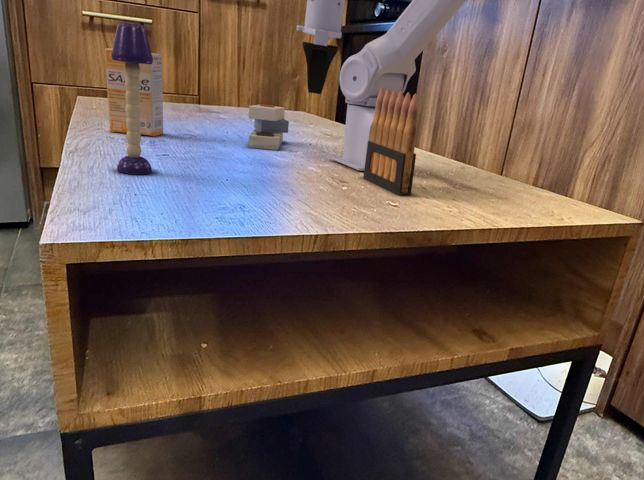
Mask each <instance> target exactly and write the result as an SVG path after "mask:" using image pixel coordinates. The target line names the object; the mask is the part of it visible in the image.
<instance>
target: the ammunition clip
mask: <svg viewBox="0 0 644 480" xmlns="http://www.w3.org/2000/svg"><path fill="white" fill-rule="evenodd" d="M418 114H419V97H418V94H417V93H414V94H413V96H412V98H411V94H410V92H409V91H407V93H406V94H405V96H404V93H403V92H402V91H400V93H399V95H398V97H397V93H396V90H394V91H393V92H392V95H391V94H390V89H389V88H388V89H387V91H386V93H385V94H384V89H383V87H382V88H381V89H380V92H379V94H378V98H377V102H376V108H375V114H374V118H373V121H372V129H371V137H370V141H368V145H367V152H366V160H365V168H364V171H363V176H362V177H363V179H365V180H366V181H368V182H370V183H372V184H375V185H376V186H379V187H380V188H382V189H385V190H387V191H388V192H391V193H393V194H395V195H398V196H411V195H412V191H413V190H412V189H413V182H414V173H415V166H416V159H417V153H415V149H416V141H417V136H418V135H417V133H418V125H417V124H418Z"/></svg>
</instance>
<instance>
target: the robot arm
mask: <svg viewBox="0 0 644 480" xmlns="http://www.w3.org/2000/svg"><path fill="white" fill-rule="evenodd" d="M467 1H468V0H412V1H411V2H410V3H409V4H408V6H407V7H406V8H405V9H404V10H403V12H402V13H401V14H400V15H399V16H398V18H397V19H396V20H395V21H394V23H393V24H392V25H391V27H390V28H389V29H388V30H387V32H386V33H384V34H383V35H382V36H380V37H379V36H378V37H377V38H376V39H373V40H371V41H369V42H367V43H366V44H365V45H364V46H363V48H362V49H361V50H360V51H359V52H357V53H356V54H352V55H351V56H349V57H348V58H347V59H346V60H345V61H344V62H343V64H342V66H341V67H340V68H341V69H340V72H339V80H338V81H339V86H340V90H341V93H342V95H343V96H344V97H345V101H344V102H345V104H347V106H346V117H345V128H344V129H345V130H344V139H343V147H342V156H332V157H331V160H332V161H335V162H338V163H339V164H342V165H345V166H347V167H349V168H352V169H354V170H356V171H362V172H364V168H365V160H366V152H367V145H368V141H370V137H371V129H372V121H373V118H374V114H375V108H376V102H377V98H378V94H379V92H380V89H381V88H382V87H383V89H384V94H385V93H386V91H387V89H388V88H389V89H390V94H391V95H392V92H393V91H394V90H396V93H397V97H398V95H399V93H400V91H402V92H403V94H404V93H405V91H406V89H407V86H408V82H409V81H410V79H411V77H412V76H413V75H414V74H415V73H416V71H417V70H416V69H417V66H416V59H417V58H418V56H420V54H421V53H422V52H423V51H424V49H425V48H427V47H428V45H429V44H430V43H431V42H432V41H433V39H434V38H435V37H436V36H437V35H438V34H439V33H440V31H441V30H442V29H443V28H444V27H445V26H446V25H447V24H448V22H449V21H450V20H451V19H452V18H453V17H454V16H455V15H456V13H457V12H458V11H460V9H461V8H462V7H463V6H464V4H465V3H466V2H467ZM345 4H346V0H306V8H305V17H304V25H296V30H295V31H298V32H302V33H305V34H308V35H312V36H313V42H308V41H302V45H301V46H302V49H303V53H304V56H305V60H306V77H307V78H306V82H307V92H308V93H310V94H316V95H321V94H322V93H323V90H324V87H325V83H326V80H327V76H328V72H329V71H330V70H329V69H330V67H331V65H332V63H333V60H334V58H335V57H336V55H337V53H338V51H339V46H337V45H332V44H328V43H329V41H330V40H331V39H341V38H342V35H343V32H342V26H343V18H344V11H345Z"/></svg>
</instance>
